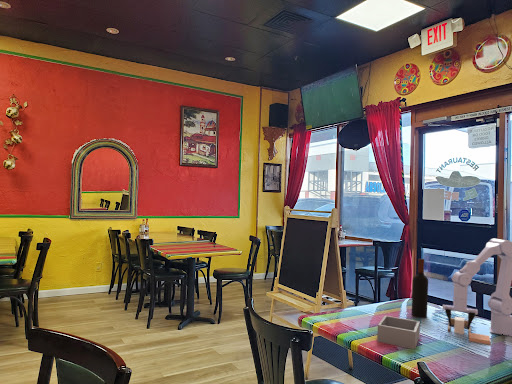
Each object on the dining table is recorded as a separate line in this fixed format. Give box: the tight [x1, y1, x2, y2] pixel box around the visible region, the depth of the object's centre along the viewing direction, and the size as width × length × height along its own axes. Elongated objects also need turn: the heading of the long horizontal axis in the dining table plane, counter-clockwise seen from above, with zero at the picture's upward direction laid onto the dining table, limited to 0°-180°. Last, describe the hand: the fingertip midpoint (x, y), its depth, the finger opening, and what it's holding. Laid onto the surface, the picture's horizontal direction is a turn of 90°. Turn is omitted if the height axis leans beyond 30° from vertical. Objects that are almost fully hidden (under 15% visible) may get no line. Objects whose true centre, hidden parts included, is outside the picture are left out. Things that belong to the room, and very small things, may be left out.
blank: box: [453, 316, 465, 335], centre depth 186 cm, size 4×6×6 cm, turn 152°
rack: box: [447, 317, 472, 336], centre depth 190 cm, size 10×14×3 cm
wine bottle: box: [411, 258, 429, 319], centre depth 210 cm, size 8×8×30 cm
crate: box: [376, 315, 421, 350], centre depth 171 cm, size 15×17×7 cm
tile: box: [468, 332, 491, 345], centre depth 175 cm, size 8×8×2 cm
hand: (459, 327), depth 186 cm, fingers open, 7 cm apart
